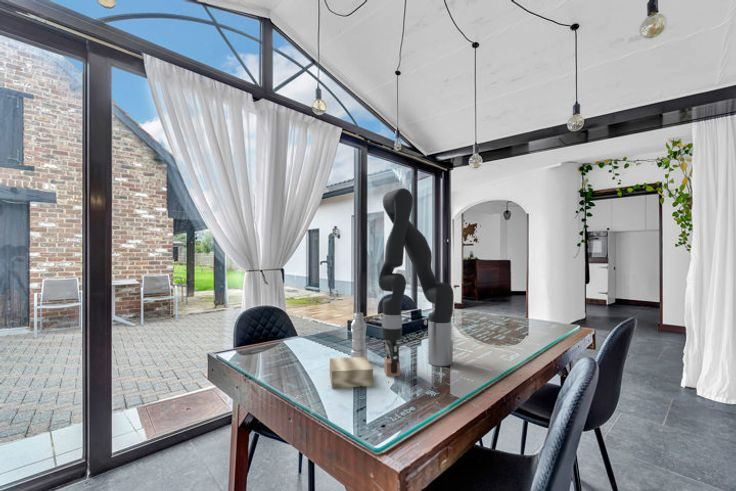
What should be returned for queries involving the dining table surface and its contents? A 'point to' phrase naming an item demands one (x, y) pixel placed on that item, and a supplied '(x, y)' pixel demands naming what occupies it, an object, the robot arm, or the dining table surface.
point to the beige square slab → (350, 372)
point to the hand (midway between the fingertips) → (391, 369)
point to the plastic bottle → (358, 336)
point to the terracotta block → (388, 368)
